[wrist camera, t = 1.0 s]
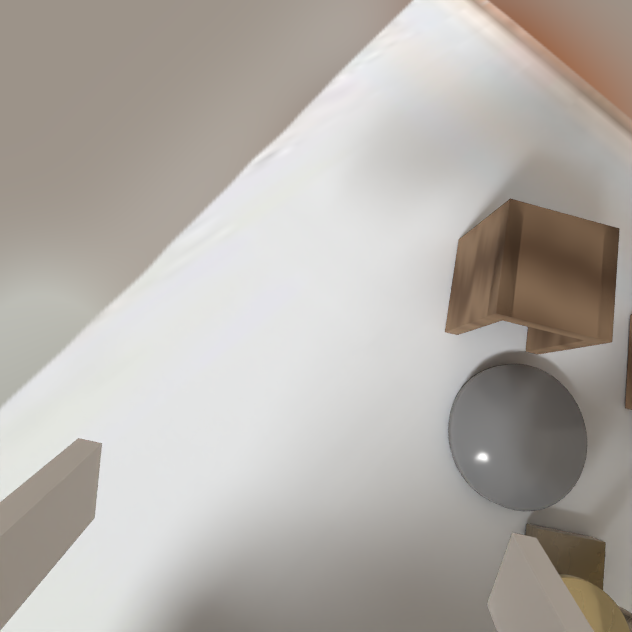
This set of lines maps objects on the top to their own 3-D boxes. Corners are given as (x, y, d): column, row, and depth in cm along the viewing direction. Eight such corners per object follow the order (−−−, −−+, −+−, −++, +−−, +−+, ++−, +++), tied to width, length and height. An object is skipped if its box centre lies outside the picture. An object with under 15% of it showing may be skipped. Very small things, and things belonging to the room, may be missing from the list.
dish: (571, 519, 37) (581, 523, 36) (438, 492, 36) (444, 495, 35) (581, 381, 40) (591, 380, 38) (458, 351, 38) (464, 350, 37)
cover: (537, 354, 40) (612, 342, 31) (444, 331, 39) (495, 313, 30) (547, 262, 41) (619, 228, 33) (458, 239, 41) (510, 198, 32)
